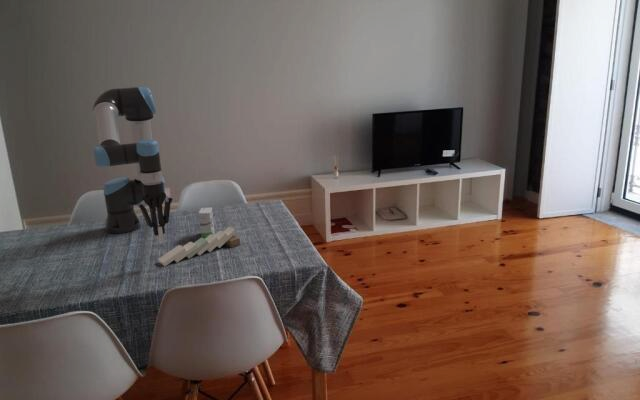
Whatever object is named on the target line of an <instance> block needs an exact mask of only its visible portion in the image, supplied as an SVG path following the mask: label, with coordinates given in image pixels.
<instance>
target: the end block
mask: <svg viewBox="0 0 640 400" xmlns="http://www.w3.org/2000/svg"><path fill="white" fill-rule="evenodd" d="M224 245H226V246H228V247H229V248H232V249H233V248H235V247H239V246H241V240H240V238H239V237H237V236H235V234H234V235H233V236H232V237H231V238H230V239H229V240H228V241H227V242H226V243H225V244H224Z"/></svg>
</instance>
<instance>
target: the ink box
mask: <svg viewBox="0 0 640 400" xmlns="http://www.w3.org/2000/svg"><path fill="white" fill-rule="evenodd" d="M198 219H199V227H200V236H201V237H202V238H204V239H205V238H207V237H208V236H209V235H210V234H212V235H215V226H214V225H215V224H214V214H213V207H201V208H200V210H199V212H198ZM201 237H200V238H201Z"/></svg>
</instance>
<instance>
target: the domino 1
mask: <svg viewBox="0 0 640 400" xmlns="http://www.w3.org/2000/svg"><path fill="white" fill-rule="evenodd" d="M185 252H186V249H185V248H184V247H183V245H181V244H178V245H176V246H175V247H174V248H172V249H171V250H169V251H168V252H166V253H164V255H162V256H161V257H158V259H157V261H158V262H159V264H161V265H162V266H164V267H166V266H167V265H169V264H171V263H172V262H173V261H174V260H175V259H176V258H178V257H179V256H181V255H182V254H183V253H185Z"/></svg>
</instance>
